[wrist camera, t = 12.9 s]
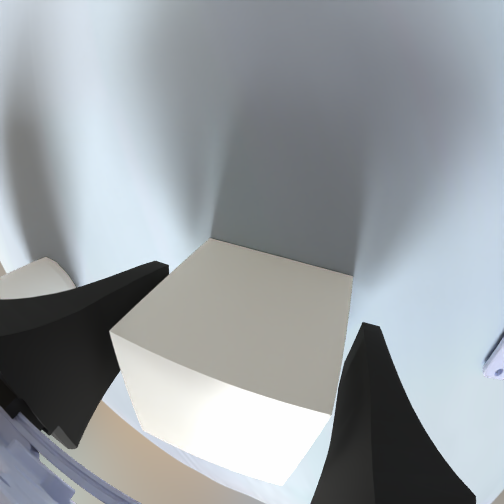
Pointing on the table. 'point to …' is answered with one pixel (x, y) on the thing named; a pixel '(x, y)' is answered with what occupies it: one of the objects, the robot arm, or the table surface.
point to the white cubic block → (237, 357)
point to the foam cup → (35, 280)
